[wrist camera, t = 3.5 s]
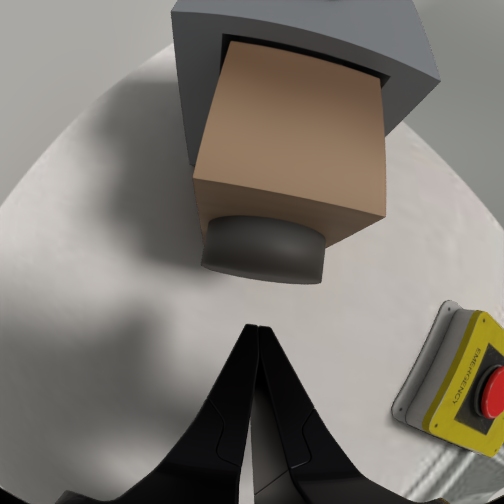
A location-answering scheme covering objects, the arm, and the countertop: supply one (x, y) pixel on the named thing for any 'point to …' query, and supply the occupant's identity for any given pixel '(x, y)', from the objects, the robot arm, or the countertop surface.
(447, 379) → the emergency button
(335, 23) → the housing
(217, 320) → the countertop surface
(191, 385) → the countertop surface
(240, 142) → the plunger
